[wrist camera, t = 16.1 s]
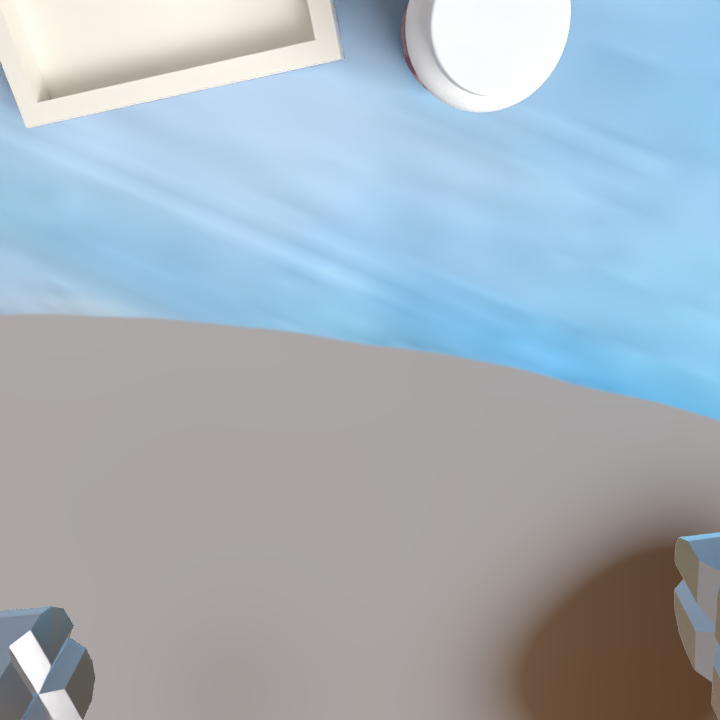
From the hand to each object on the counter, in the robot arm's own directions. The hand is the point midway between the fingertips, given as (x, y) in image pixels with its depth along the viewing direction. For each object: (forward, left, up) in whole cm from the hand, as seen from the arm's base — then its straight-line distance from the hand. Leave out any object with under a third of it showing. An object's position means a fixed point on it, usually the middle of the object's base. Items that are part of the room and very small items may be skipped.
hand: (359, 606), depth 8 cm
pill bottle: (-5, -7, -29) cm, 30 cm away
